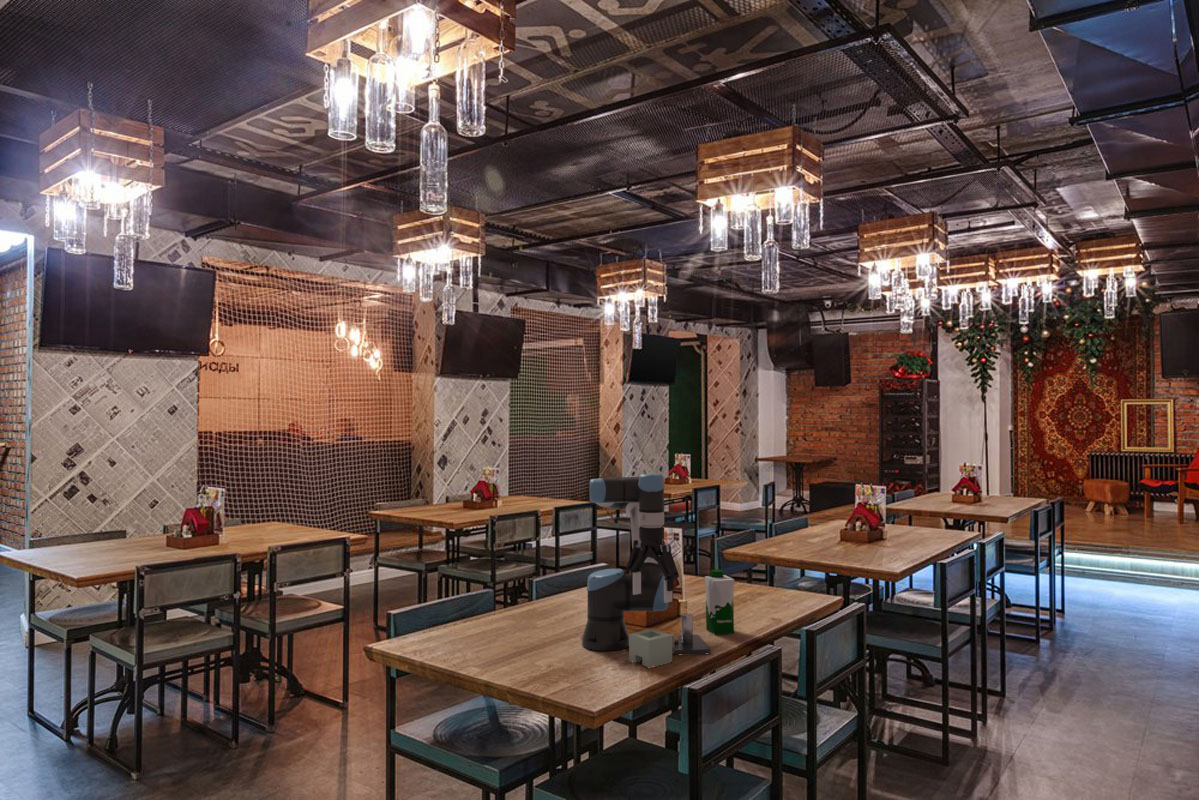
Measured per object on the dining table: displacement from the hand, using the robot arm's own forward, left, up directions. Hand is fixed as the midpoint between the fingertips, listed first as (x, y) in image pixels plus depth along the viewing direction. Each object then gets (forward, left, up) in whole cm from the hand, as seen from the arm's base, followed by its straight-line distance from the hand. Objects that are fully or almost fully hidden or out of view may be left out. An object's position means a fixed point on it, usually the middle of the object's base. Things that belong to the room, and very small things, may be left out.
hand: (652, 598), depth 232 cm
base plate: (+13, +13, -19) cm, 26 cm away
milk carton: (+28, +29, -19) cm, 44 cm away
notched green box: (-1, 0, -19) cm, 19 cm away
